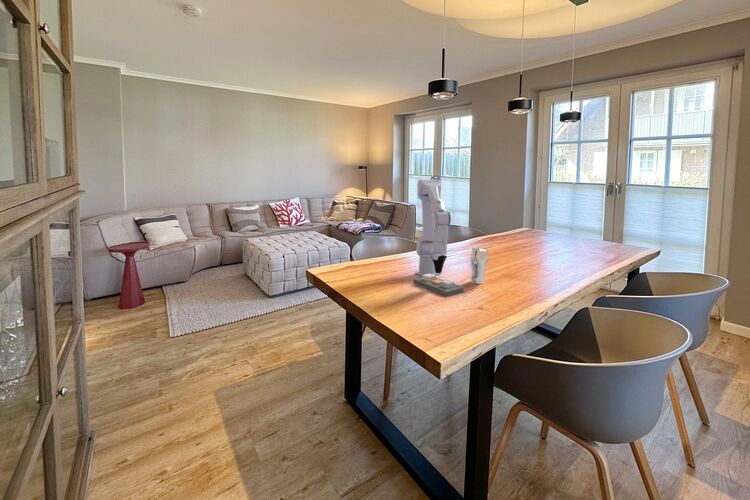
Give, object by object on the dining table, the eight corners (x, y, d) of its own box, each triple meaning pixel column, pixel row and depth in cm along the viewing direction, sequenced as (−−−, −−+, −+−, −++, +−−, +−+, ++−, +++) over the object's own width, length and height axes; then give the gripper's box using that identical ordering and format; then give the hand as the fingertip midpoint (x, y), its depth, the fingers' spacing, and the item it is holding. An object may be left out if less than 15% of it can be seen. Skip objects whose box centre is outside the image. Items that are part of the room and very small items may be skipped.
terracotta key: (437, 284, 160) (437, 279, 159) (444, 287, 157) (444, 281, 156) (430, 286, 158) (431, 280, 157) (437, 288, 154) (437, 283, 154)
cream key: (428, 278, 164) (429, 273, 163) (435, 281, 161) (435, 275, 160) (422, 280, 162) (422, 274, 161) (428, 282, 159) (428, 277, 158)
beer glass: (486, 281, 167) (489, 248, 164) (483, 285, 161) (486, 251, 158) (470, 278, 170) (473, 246, 167) (467, 283, 164) (470, 249, 161)
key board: (429, 279, 168) (430, 275, 168) (463, 291, 152) (464, 287, 152) (413, 283, 162) (413, 278, 162) (446, 296, 146) (446, 291, 146)
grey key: (447, 285, 155) (447, 279, 155) (454, 288, 152) (454, 282, 152) (440, 287, 153) (440, 281, 152) (447, 289, 150) (447, 283, 149)
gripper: (435, 237, 161) (433, 267, 164) (425, 243, 148) (424, 276, 151) (451, 238, 158) (449, 269, 161) (443, 244, 145) (441, 278, 148)
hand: (438, 272), depth 156 cm, fingers closed
